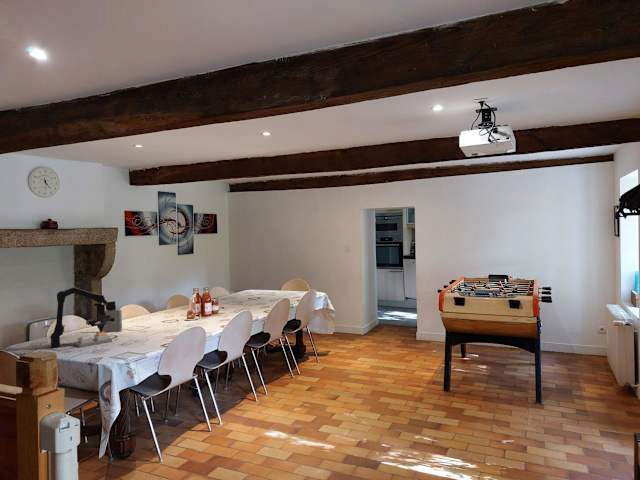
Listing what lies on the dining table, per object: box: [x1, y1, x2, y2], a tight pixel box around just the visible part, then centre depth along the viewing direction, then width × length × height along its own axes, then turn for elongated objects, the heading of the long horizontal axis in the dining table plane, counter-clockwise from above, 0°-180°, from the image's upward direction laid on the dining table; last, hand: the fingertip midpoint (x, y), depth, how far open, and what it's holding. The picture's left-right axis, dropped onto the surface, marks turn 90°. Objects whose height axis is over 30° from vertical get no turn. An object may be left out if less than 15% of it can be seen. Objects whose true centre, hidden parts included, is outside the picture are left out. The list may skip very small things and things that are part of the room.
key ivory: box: [79, 334, 91, 339], centre depth 324 cm, size 5×5×3 cm
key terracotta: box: [95, 331, 107, 336], centre depth 332 cm, size 5×5×3 cm
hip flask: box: [102, 309, 123, 333], centre depth 367 cm, size 16×4×20 cm, turn 93°
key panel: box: [73, 333, 113, 348], centre depth 328 cm, size 12×22×5 cm, turn 137°
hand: (100, 332), depth 332 cm, fingers closed
